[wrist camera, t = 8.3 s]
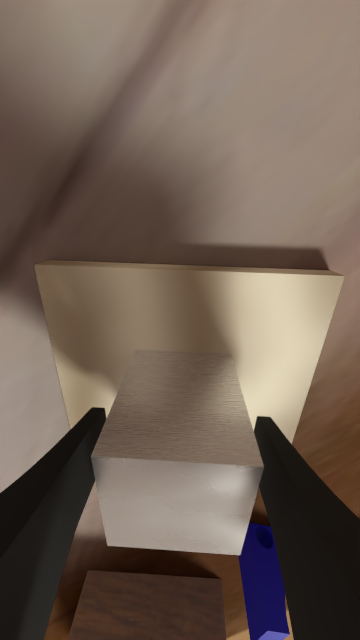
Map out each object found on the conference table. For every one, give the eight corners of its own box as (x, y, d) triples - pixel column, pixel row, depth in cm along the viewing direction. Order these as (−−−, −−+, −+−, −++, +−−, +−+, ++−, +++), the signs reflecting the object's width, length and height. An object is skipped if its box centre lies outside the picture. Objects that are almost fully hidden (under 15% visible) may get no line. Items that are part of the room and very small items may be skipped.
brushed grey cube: (139, 419, 14) (107, 545, 9) (135, 349, 12) (90, 456, 7) (221, 424, 14) (240, 555, 9) (230, 353, 12) (263, 466, 7)
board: (85, 450, 17) (78, 466, 16) (48, 260, 12) (33, 264, 11) (274, 461, 17) (280, 478, 16) (330, 270, 11) (344, 276, 10)
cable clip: (382, 535, 21) (452, 651, 15) (355, 559, 22) (408, 670, 17) (253, 510, 20) (277, 622, 14) (235, 537, 22) (251, 645, 16)
